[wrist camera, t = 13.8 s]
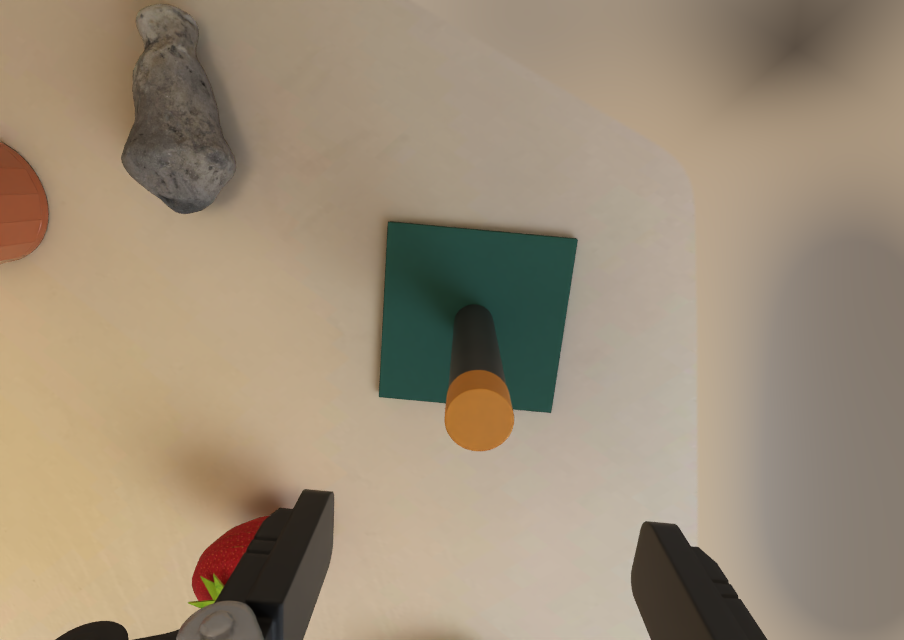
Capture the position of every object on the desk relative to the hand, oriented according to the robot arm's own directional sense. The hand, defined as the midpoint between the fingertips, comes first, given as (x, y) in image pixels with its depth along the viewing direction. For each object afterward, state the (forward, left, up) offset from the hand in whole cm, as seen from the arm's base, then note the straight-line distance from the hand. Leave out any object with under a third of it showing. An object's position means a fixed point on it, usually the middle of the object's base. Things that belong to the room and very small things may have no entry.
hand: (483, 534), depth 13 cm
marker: (0, 0, -21) cm, 21 cm away
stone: (-11, -18, -21) cm, 30 cm away
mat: (0, 0, -21) cm, 21 cm away
